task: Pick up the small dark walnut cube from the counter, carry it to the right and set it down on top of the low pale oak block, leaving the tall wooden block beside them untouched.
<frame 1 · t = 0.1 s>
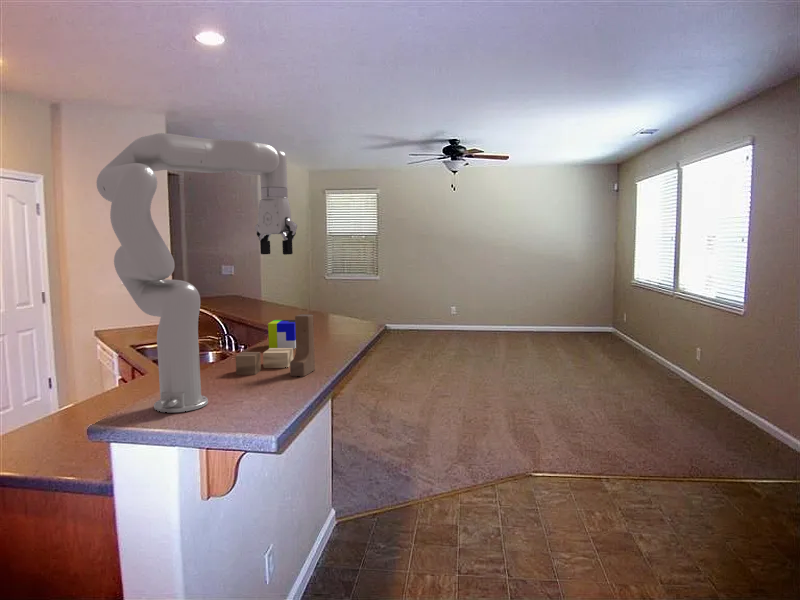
hand: (276, 254, 161), 37 cm above the countertop, tool pointing down, fingers open, 9 cm apart
oak block: (278, 365, 184), on the countertop
walnut cube: (248, 372, 174), on the countertop
puzzle toy: (284, 347, 217), on the countertop
wooden block: (302, 374, 172), on the countertop
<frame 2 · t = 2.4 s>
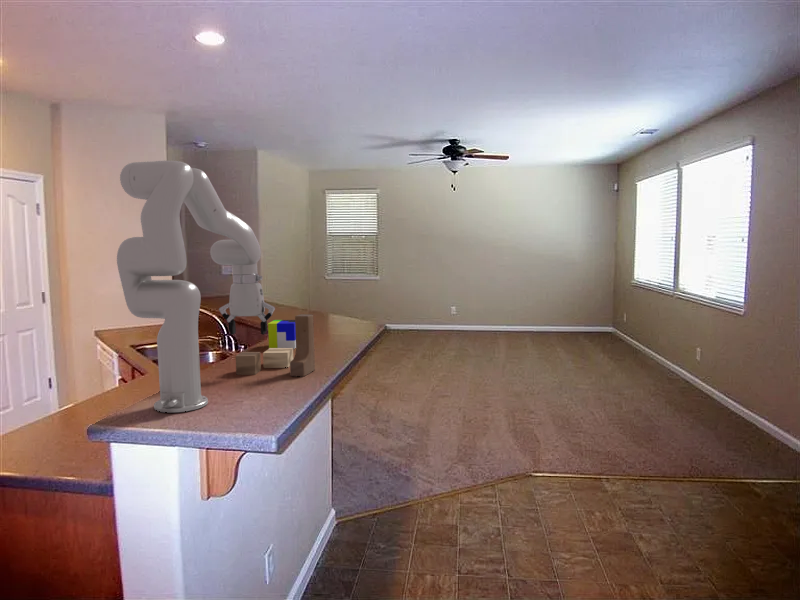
hand: (248, 333, 174), 12 cm above the countertop, tool pointing down, fingers open, 9 cm apart
nothing on the countertop moved.
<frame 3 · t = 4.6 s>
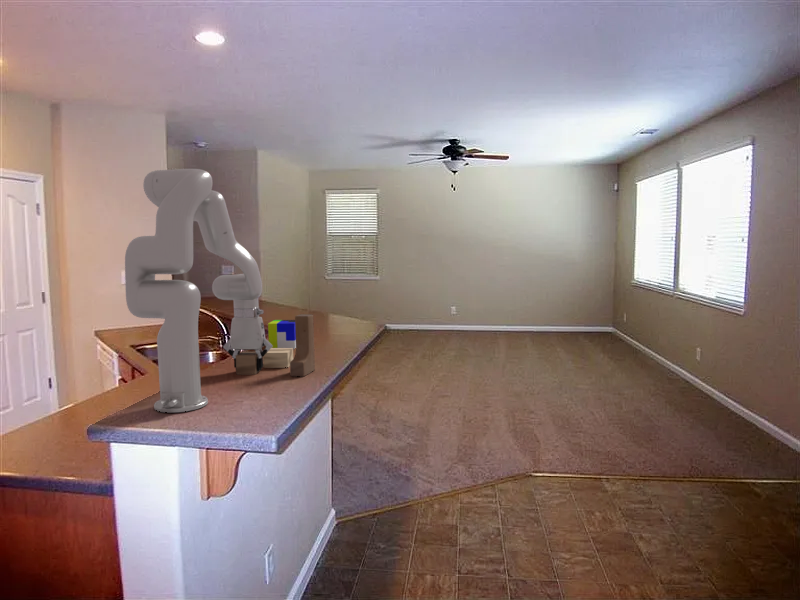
hand: (248, 369, 174), 1 cm above the countertop, tool pointing down, fingers closed on walnut cube, 6 cm apart
walnut cube: (248, 372, 174), on the countertop, touching gripper
everything else where it was.
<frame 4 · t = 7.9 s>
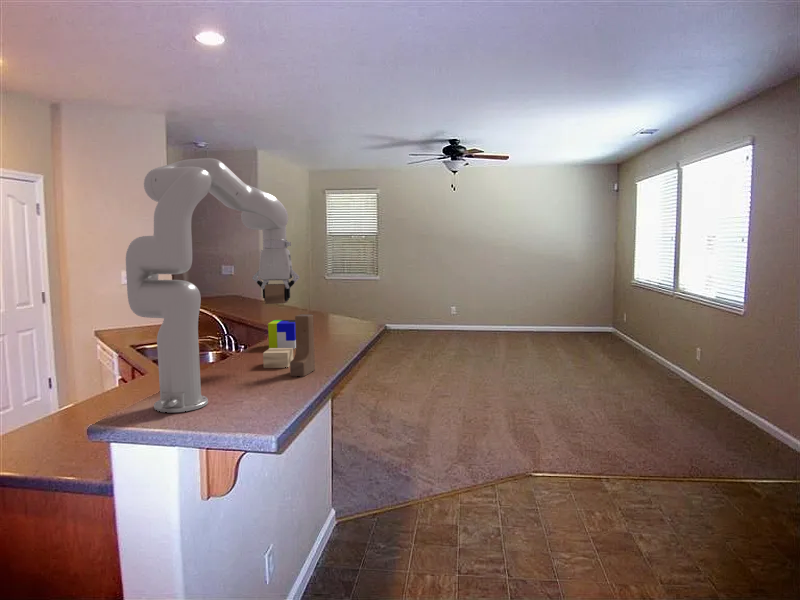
hand: (276, 300, 182), 22 cm above the countertop, tool pointing down, fingers closed on walnut cube, 6 cm apart
walnut cube: (276, 302, 182), point 21 cm above the countertop, touching gripper
everything else where it was.
when the fingers open (7 cm above the countertop, at t = 11.3 s): walnut cube stays where it is, resting on oak block.
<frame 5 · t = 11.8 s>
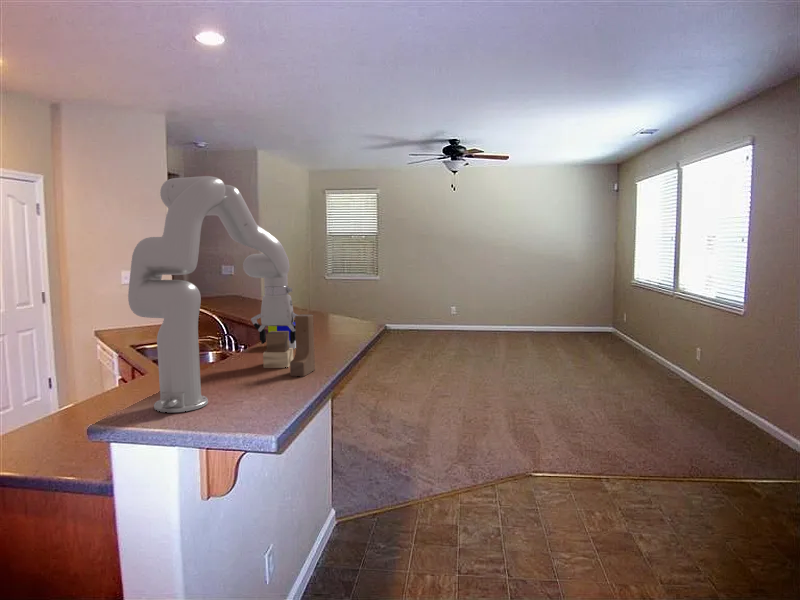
hand: (278, 342, 183), 8 cm above the countertop, tool pointing down, fingers open, 9 cm apart
walnut cube: (278, 350, 183), point 5 cm above the countertop, touching oak block
everything else where it was.
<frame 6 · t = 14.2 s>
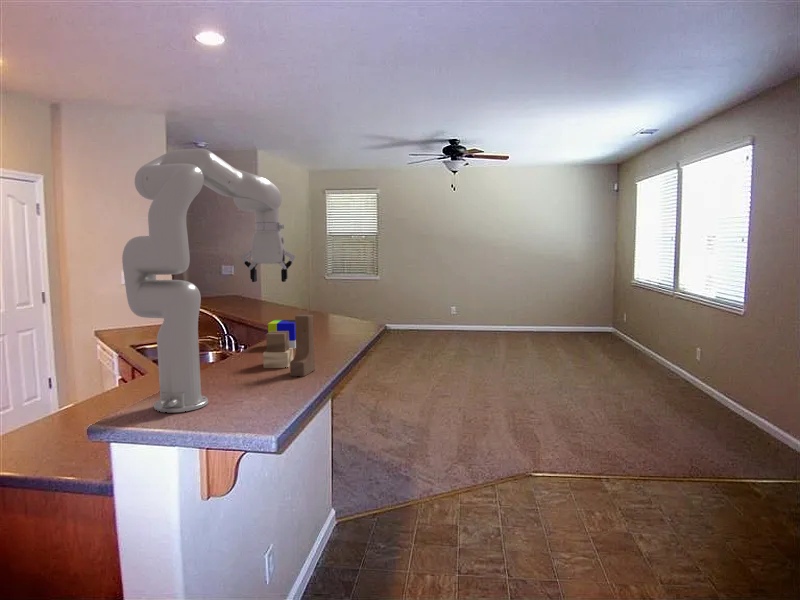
hand: (269, 281, 179), 28 cm above the countertop, tool pointing down, fingers open, 9 cm apart
nothing on the countertop moved.
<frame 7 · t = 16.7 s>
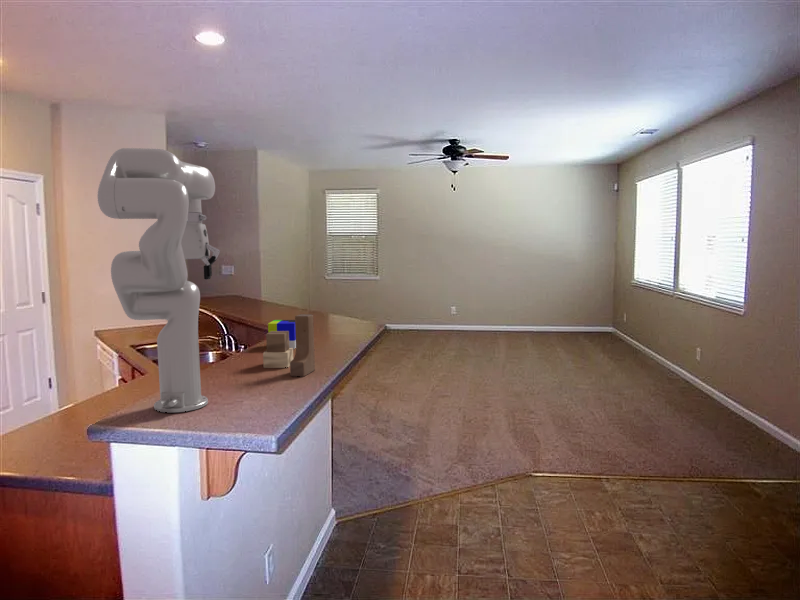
hand: (191, 279, 160), 30 cm above the countertop, tool pointing down, fingers open, 9 cm apart
nothing on the countertop moved.
at the end: walnut cube 0.0 cm from the oak block (horizontally); walnut cube point 5.0 cm above the countertop; walnut cube tilted 0° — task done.
